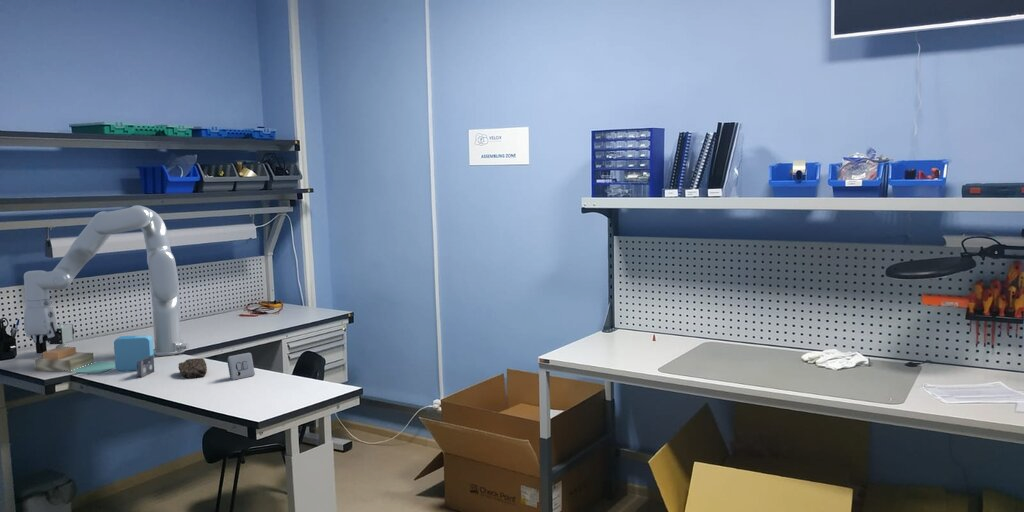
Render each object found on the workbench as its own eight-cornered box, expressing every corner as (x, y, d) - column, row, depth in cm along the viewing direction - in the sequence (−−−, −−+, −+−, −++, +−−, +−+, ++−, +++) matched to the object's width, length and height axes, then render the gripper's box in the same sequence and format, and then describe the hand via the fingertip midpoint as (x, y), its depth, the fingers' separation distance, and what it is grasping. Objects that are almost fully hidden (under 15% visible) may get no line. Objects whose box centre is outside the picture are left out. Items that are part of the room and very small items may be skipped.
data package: (154, 366, 271) (152, 334, 270) (150, 369, 266) (149, 337, 265) (119, 368, 269) (117, 336, 267) (115, 371, 264) (113, 338, 263)
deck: (93, 363, 276) (93, 352, 276) (70, 371, 264) (70, 360, 264) (60, 362, 278) (59, 351, 278) (35, 370, 266) (35, 359, 266)
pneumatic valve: (76, 349, 298) (74, 320, 297) (60, 356, 287) (58, 326, 285) (62, 350, 298) (60, 321, 297) (46, 357, 286) (43, 326, 285)
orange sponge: (75, 353, 275) (75, 346, 275) (58, 359, 266) (57, 352, 266) (61, 352, 276) (60, 346, 276) (43, 358, 267) (42, 352, 267)
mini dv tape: (150, 371, 264) (149, 355, 263) (154, 371, 264) (153, 355, 263) (137, 378, 256) (136, 361, 255) (141, 378, 255) (140, 361, 255)
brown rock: (181, 371, 264) (180, 358, 264) (210, 369, 266) (210, 356, 266) (174, 380, 253) (173, 365, 252) (205, 378, 255) (205, 363, 255)
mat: (127, 363, 276) (126, 362, 276) (99, 373, 261) (99, 372, 261) (97, 362, 278) (97, 361, 278) (69, 372, 263) (69, 371, 263)
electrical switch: (232, 380, 251) (230, 356, 251) (226, 379, 255) (224, 356, 254) (255, 376, 258) (253, 352, 257) (249, 374, 261) (247, 351, 260)
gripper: (63, 302, 273) (67, 350, 275) (27, 302, 275) (31, 349, 277) (48, 306, 265) (52, 355, 267) (11, 305, 267) (15, 354, 269)
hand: (41, 352), depth 272 cm, fingers closed
